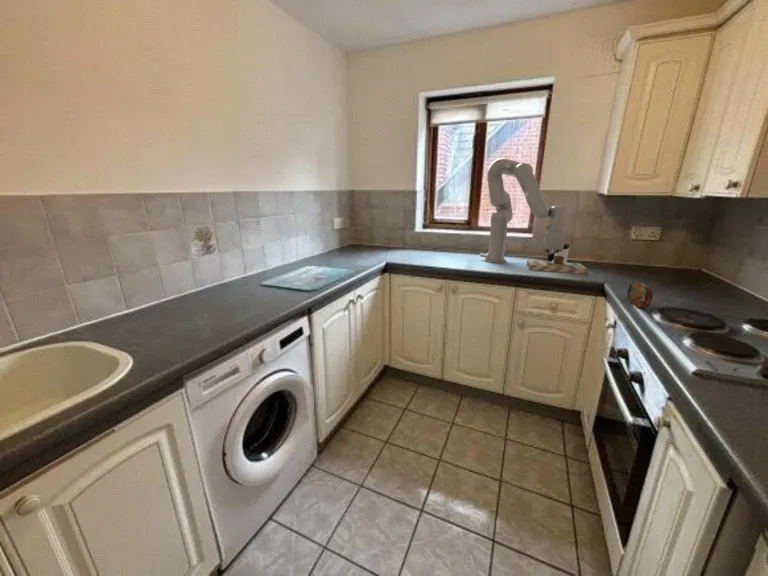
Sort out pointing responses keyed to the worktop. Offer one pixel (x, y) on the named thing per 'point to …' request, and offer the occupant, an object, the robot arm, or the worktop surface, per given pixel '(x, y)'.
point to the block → (558, 259)
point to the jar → (563, 252)
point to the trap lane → (556, 267)
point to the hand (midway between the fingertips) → (550, 261)
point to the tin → (639, 294)
